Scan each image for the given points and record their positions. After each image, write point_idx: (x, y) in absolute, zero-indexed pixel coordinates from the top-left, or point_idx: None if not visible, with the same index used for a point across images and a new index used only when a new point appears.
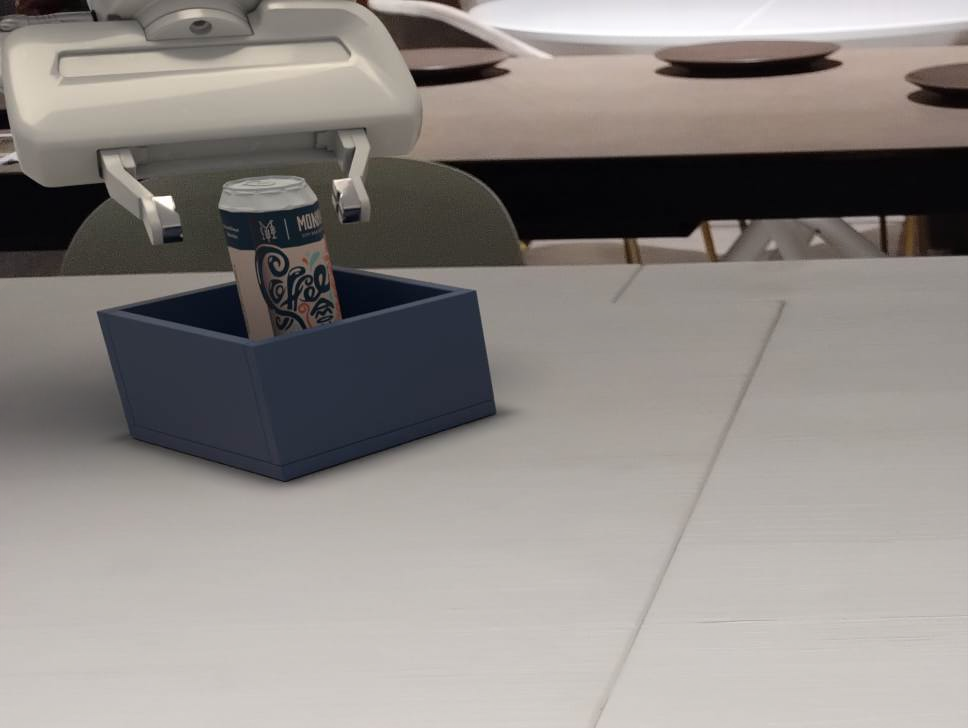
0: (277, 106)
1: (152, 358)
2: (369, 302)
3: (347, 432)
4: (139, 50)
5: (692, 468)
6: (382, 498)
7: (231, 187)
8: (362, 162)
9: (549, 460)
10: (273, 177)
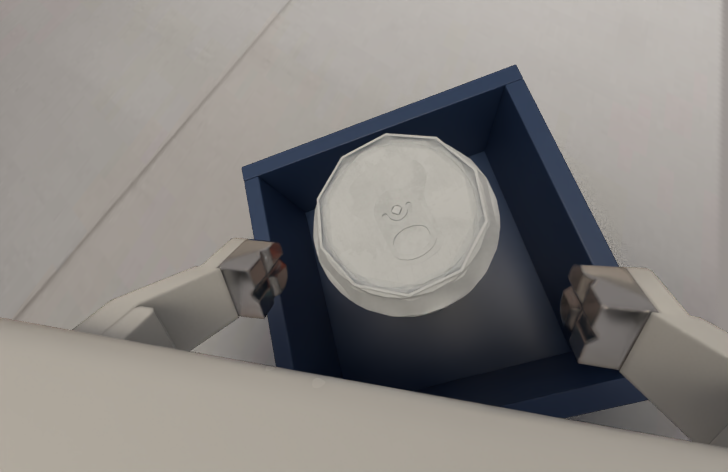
0: (163, 422)
1: None
2: (302, 334)
3: None
4: None
5: (272, 34)
6: (442, 74)
7: (467, 224)
8: (165, 281)
9: (324, 89)
10: (353, 279)
